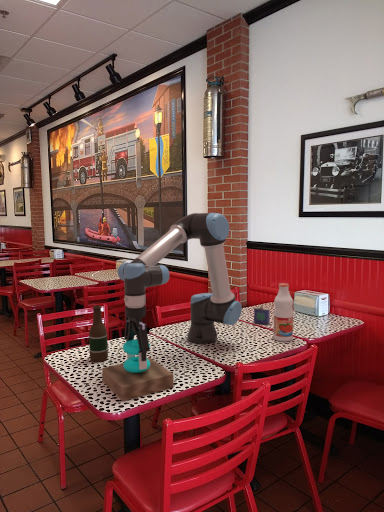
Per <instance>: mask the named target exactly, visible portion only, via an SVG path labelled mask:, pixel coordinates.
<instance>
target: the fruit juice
mask: <svg viewBox="0 0 384 512" xmlns="http://www.w3.org/2000/svg"><path fill="white" fill-rule="evenodd" d="M289 288H290V284H289V283H284V282H281V283H279V284H278V289H279V290H278V292H277V295H276V296H275V298H274V301H273V302H274V310H273V339H274V340H275V341H278V342H291V341H292V340H293V338H294V310H293V305H294V300H293V298H292V295H291V293H290V291H289Z"/></svg>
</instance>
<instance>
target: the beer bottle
mask: <svg viewBox="0 0 384 512" xmlns="http://www.w3.org/2000/svg"><path fill="white" fill-rule="evenodd" d="M92 310H93V312H92V325H91V327H90V328H89V331H88V346H89V347H88V348H89V360H90V362H92V363H103V362H105V361H107V359H108V357H109V348H108V330H107V327H106V326H105V325H104V323H103V318H102V306H101V305H99V304H97V305H93V306H92Z"/></svg>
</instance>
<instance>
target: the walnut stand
mask: <svg viewBox="0 0 384 512" xmlns="http://www.w3.org/2000/svg"><path fill="white" fill-rule="evenodd" d="M147 359H148V360H149V361H150V367H149V368H148V369H147V370H146V371H143V372H139V373H132V372H128V371H126V370H125V369H124V367H123V364H124V362H122V363H117V364H113V365H108V366H106V367H102V368H101V371H102V372H101V374H102V377H101V379H102V382H104V384H105V385H106V386H107V387H108V388H109V389H110V390H111V391H112V392H113V394H115V395H116V396H117V398H119V400H120V401H121V402H126V401H130V400H132V399H136V398H137V399H138V398H141V397H143V396H147V395H151V394H154V393H158V392H161V391H165V390H170V389H172V388H174V379H175V378H174V373H172V372H171V371H170V370H168V369H167V368H166V367H164V366H163V365H161V364H160V363H158V361H156V360H154V359H153V358H151V357H147Z"/></svg>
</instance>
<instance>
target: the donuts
mask: <svg viewBox="0 0 384 512" xmlns="http://www.w3.org/2000/svg"><path fill="white" fill-rule="evenodd" d="M149 349H151V344H150V343H149ZM122 350H123V352H124V353H126V354H127V353H128V354H131V355H135V357H131V358H129V359H126V360H125V361H124V362H123V363H124V364H123V367H124V369H125V370H126V371H128V372H132V373H139V372H143V371H146V370H147V369H148V368H149V367H150V361H149V360H148V359H147V368H146V369H142V370H139V353H138V352H139V351H140V349H139V345H138V341H137V338H136V339H135V338H134V340H130V341H127V342H126V341H125V342H124V343H123V345H122ZM137 355H138V356H137Z"/></svg>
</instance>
